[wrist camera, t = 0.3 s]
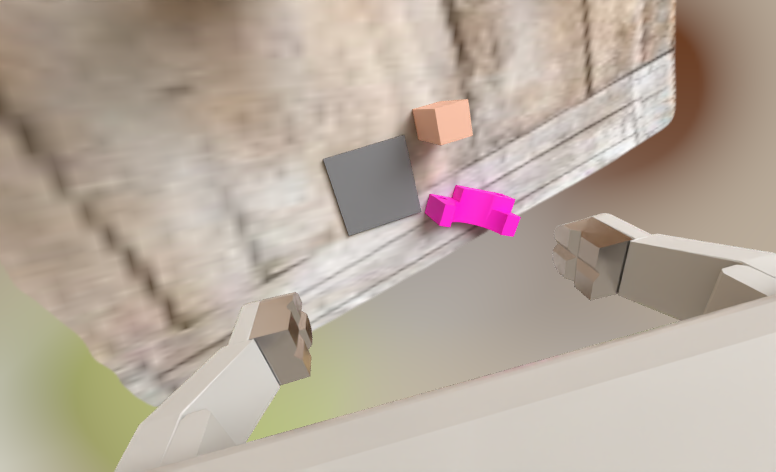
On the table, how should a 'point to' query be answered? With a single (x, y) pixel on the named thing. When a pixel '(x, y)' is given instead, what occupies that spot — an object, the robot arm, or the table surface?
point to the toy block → (474, 210)
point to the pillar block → (443, 121)
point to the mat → (373, 184)
